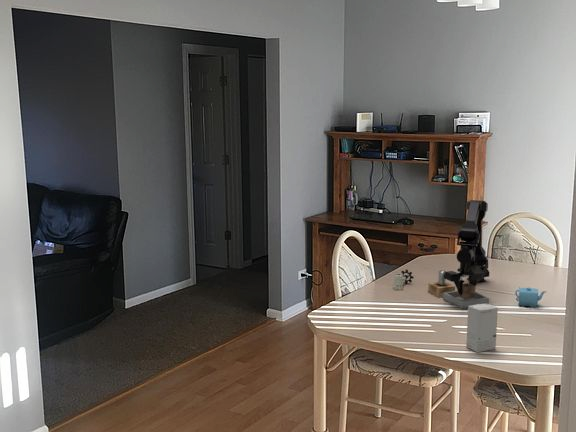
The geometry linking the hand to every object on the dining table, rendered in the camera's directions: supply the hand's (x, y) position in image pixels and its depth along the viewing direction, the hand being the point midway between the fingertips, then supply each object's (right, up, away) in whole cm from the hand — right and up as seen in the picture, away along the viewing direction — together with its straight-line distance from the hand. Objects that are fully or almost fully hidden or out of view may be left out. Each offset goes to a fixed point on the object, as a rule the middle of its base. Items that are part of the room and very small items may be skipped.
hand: (465, 294), depth 263 cm
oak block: (-7, -1, +12) cm, 14 cm away
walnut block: (0, -1, 0) cm, 1 cm away
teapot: (+25, -4, -4) cm, 26 cm away
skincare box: (-8, -13, -46) cm, 48 cm away
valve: (-22, 0, +23) cm, 32 cm away
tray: (0, -3, +1) cm, 3 cm away
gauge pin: (-7, -1, +12) cm, 14 cm away
